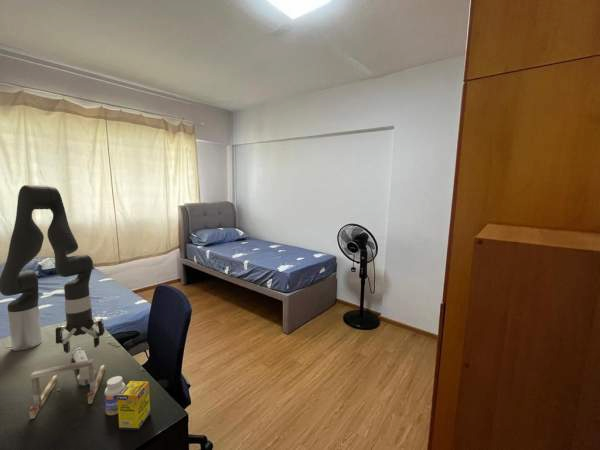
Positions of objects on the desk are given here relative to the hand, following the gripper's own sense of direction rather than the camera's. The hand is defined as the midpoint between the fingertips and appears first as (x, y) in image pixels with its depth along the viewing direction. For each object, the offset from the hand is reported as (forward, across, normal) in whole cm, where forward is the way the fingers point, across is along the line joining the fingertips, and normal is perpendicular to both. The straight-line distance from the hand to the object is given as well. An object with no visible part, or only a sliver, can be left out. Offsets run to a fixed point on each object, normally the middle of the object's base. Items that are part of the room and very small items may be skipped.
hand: (82, 349), depth 102 cm
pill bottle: (+9, -15, +28) cm, 33 cm away
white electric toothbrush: (+9, 0, 0) cm, 9 cm away
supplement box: (+9, -21, +36) cm, 42 cm away
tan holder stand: (+8, 0, +13) cm, 15 cm away
